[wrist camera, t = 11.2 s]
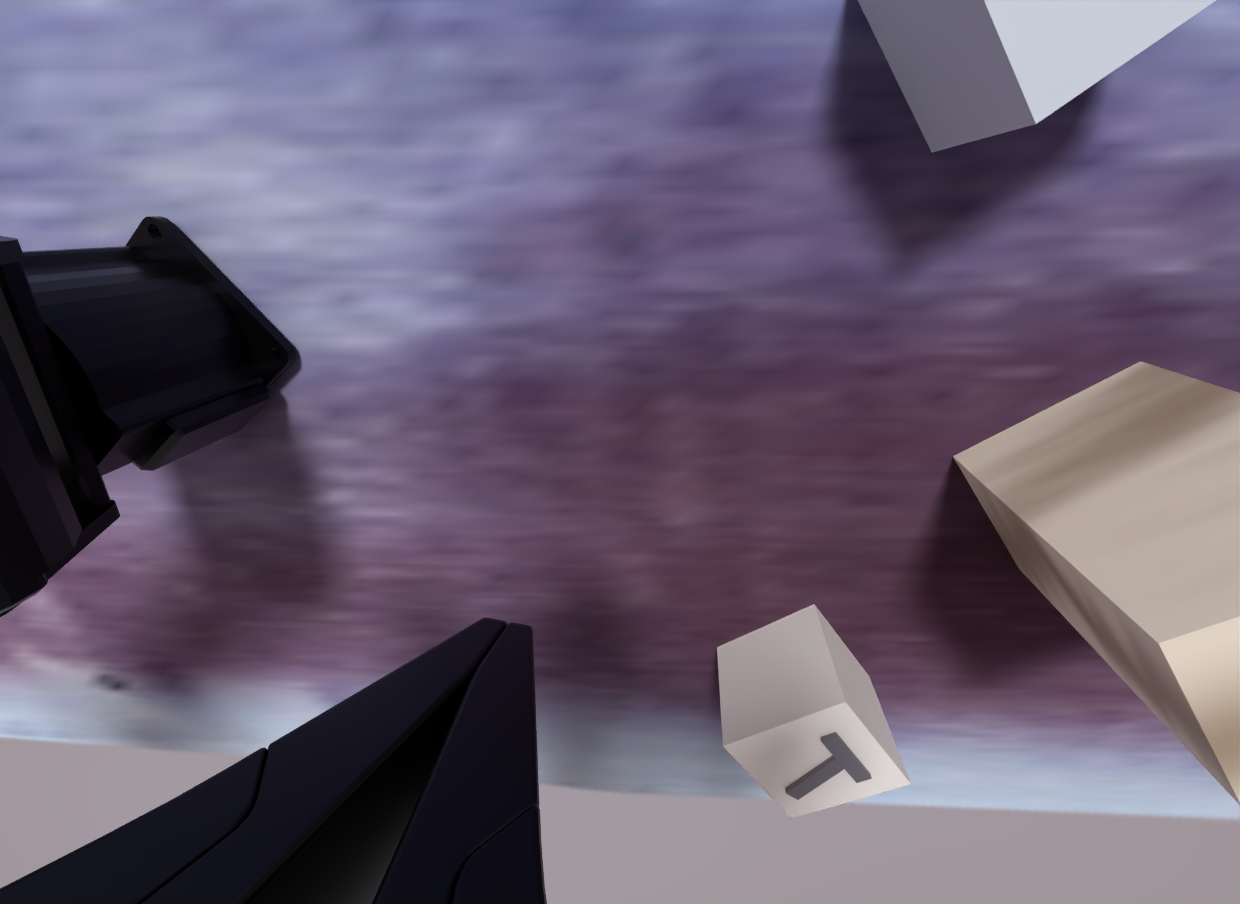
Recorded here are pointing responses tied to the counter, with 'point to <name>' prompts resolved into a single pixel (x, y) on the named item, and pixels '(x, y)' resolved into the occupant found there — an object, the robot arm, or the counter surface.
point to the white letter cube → (1009, 56)
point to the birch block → (1135, 539)
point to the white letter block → (805, 716)
